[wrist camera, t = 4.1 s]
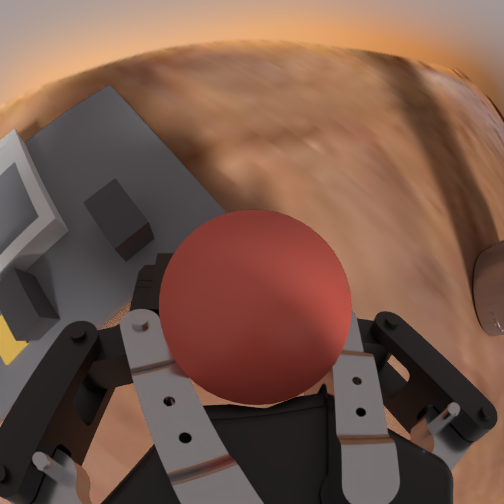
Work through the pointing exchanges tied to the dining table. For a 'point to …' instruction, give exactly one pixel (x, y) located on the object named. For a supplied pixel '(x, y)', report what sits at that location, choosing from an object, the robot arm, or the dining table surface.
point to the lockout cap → (255, 307)
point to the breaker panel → (83, 225)
